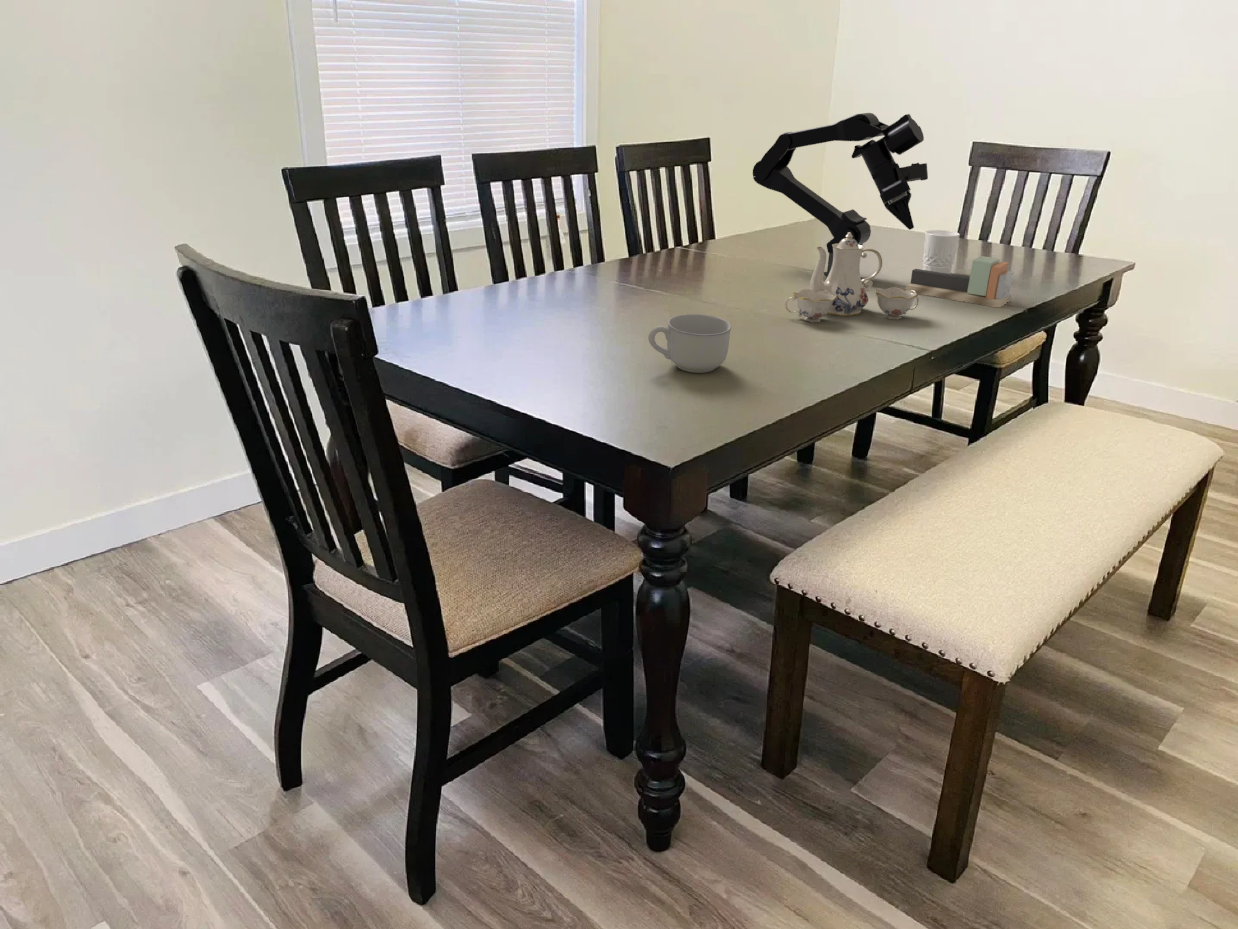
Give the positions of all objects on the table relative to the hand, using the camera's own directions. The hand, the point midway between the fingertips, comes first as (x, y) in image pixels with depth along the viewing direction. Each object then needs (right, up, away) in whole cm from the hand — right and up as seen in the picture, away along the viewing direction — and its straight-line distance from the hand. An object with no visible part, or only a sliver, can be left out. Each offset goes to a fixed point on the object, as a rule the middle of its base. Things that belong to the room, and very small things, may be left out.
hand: (911, 228), depth 207 cm
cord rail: (+9, -14, -2) cm, 17 cm away
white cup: (+12, -7, +18) cm, 23 cm away
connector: (+17, -17, -8) cm, 25 cm away
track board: (+9, -16, -2) cm, 18 cm away
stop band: (+16, -17, -7) cm, 24 cm away
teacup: (-54, -37, -50) cm, 83 cm away
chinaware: (-19, -22, -17) cm, 34 cm away
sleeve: (+13, -15, -6) cm, 21 cm away
